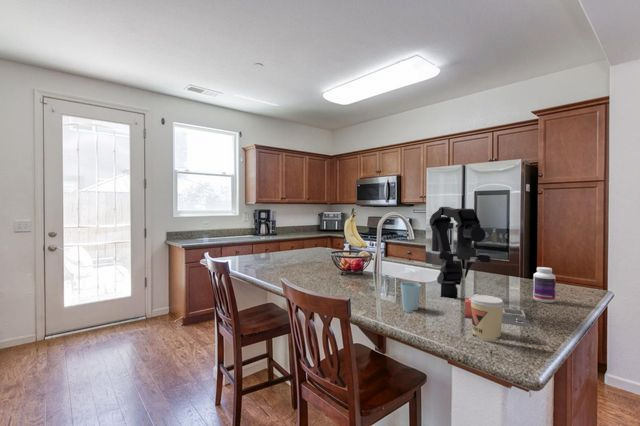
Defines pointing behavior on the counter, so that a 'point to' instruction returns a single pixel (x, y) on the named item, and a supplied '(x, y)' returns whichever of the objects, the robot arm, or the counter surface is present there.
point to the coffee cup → (486, 317)
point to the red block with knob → (468, 307)
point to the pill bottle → (544, 285)
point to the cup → (410, 296)
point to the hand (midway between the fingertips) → (463, 277)
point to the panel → (510, 317)
